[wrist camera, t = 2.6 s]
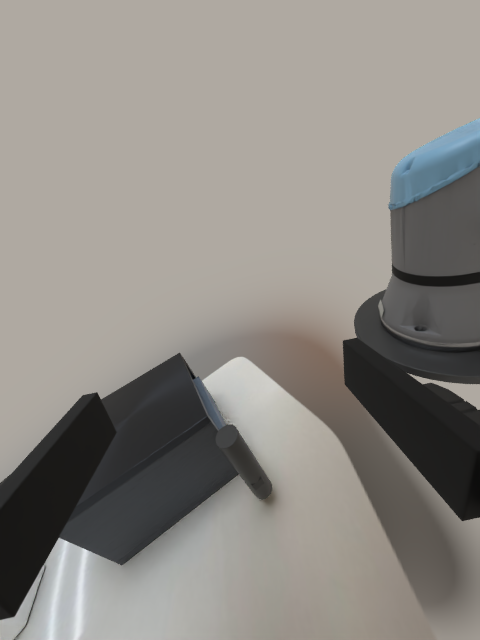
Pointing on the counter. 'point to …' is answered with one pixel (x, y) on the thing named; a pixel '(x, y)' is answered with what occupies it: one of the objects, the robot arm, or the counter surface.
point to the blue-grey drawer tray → (235, 448)
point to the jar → (20, 613)
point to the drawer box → (149, 464)
